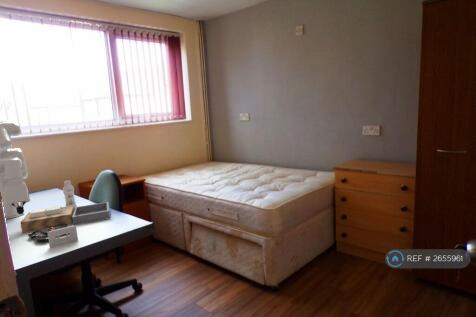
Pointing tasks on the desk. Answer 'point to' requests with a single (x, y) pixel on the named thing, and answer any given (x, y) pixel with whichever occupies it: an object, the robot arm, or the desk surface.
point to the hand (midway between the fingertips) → (21, 213)
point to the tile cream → (38, 212)
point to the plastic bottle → (69, 194)
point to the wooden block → (47, 220)
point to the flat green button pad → (43, 235)
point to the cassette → (62, 240)
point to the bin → (90, 213)
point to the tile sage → (53, 210)
